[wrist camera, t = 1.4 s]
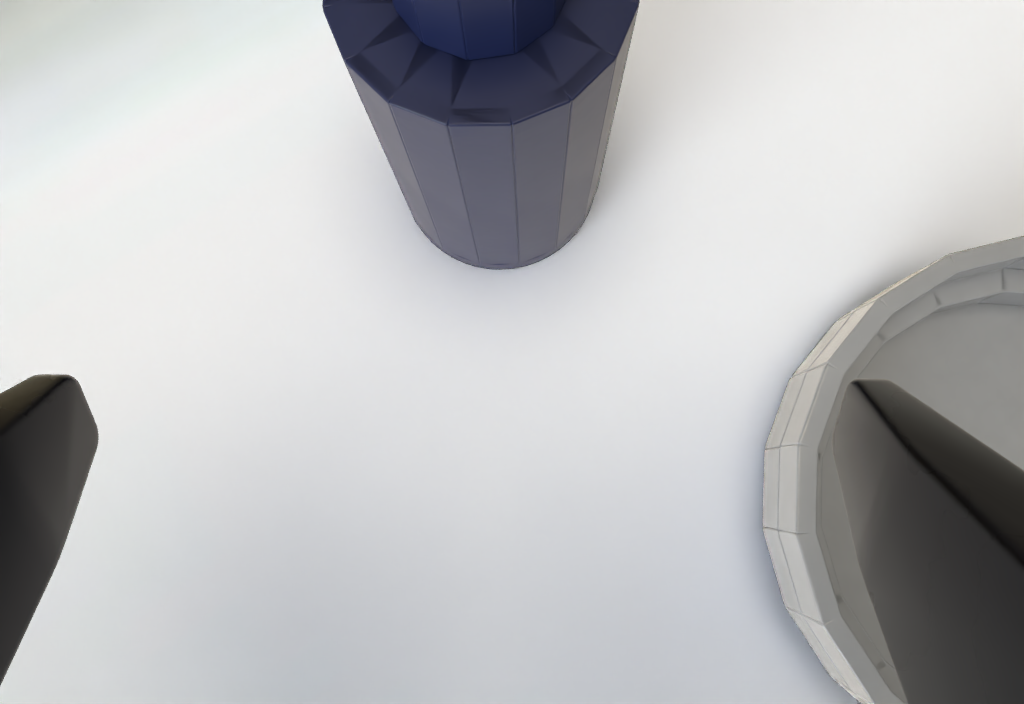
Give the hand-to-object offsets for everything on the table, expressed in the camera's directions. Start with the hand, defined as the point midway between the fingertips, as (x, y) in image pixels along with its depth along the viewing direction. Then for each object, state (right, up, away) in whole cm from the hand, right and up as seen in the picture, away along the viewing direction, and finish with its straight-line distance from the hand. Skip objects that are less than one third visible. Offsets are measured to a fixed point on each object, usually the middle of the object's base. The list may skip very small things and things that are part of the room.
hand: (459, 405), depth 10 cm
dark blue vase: (0, +6, +14) cm, 15 cm away
